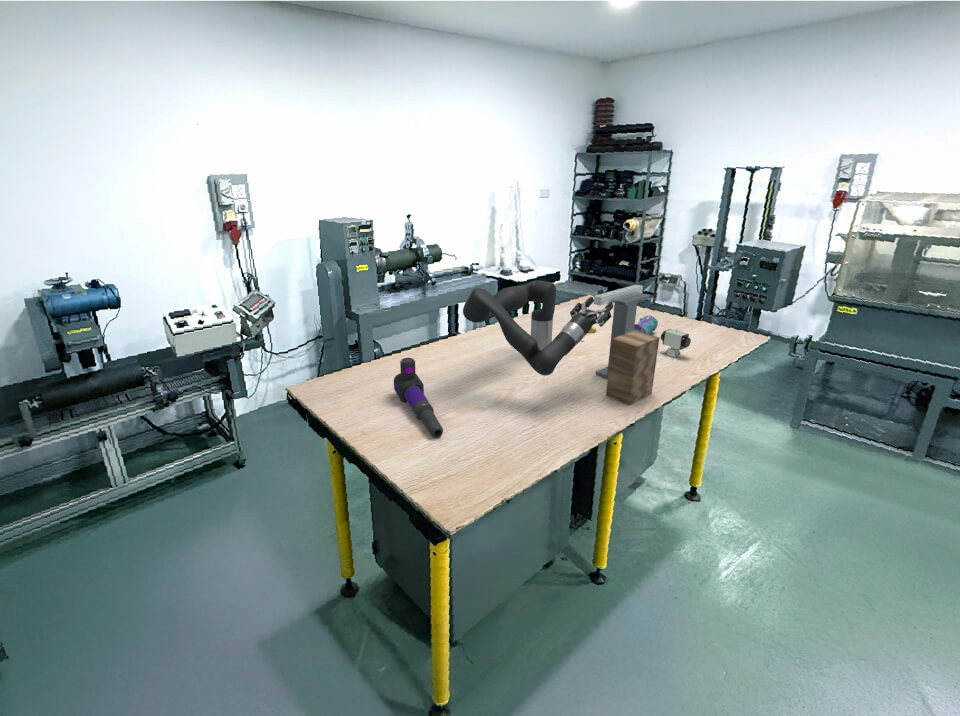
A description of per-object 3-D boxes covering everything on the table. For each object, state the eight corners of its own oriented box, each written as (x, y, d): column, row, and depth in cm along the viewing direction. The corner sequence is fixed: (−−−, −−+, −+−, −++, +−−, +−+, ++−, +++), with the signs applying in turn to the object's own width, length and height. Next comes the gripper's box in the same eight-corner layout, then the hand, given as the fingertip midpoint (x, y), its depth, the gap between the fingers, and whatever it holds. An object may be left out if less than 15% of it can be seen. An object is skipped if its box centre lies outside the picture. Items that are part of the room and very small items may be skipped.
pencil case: (638, 330, 248) (641, 312, 245) (656, 333, 244) (659, 314, 240) (625, 342, 232) (628, 323, 229) (644, 346, 228) (647, 326, 224)
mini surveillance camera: (682, 361, 210) (686, 334, 206) (658, 353, 219) (661, 327, 214) (689, 358, 213) (693, 331, 209) (665, 350, 222) (668, 325, 217)
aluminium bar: (600, 305, 175) (601, 297, 173) (593, 303, 177) (594, 295, 176) (642, 293, 190) (643, 285, 189) (635, 292, 192) (636, 284, 191)
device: (424, 447, 152) (423, 406, 146) (393, 392, 182) (391, 356, 175) (451, 441, 156) (451, 400, 149) (416, 388, 185) (415, 352, 179)
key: (557, 341, 236) (557, 337, 235) (586, 327, 253) (586, 324, 252) (576, 347, 229) (576, 344, 228) (604, 333, 246) (605, 330, 245)
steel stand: (616, 382, 190) (625, 302, 178) (595, 374, 197) (602, 297, 185) (640, 372, 200) (650, 295, 188) (619, 364, 207) (627, 290, 195)
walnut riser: (629, 405, 173) (636, 346, 165) (605, 395, 180) (611, 338, 172) (651, 393, 181) (659, 337, 173) (628, 384, 188) (634, 330, 180)
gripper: (588, 327, 164) (616, 297, 170) (556, 318, 175) (583, 289, 180) (594, 343, 169) (621, 313, 174) (562, 333, 179) (588, 304, 184)
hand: (602, 301), depth 177 cm, fingers open, 8 cm apart
